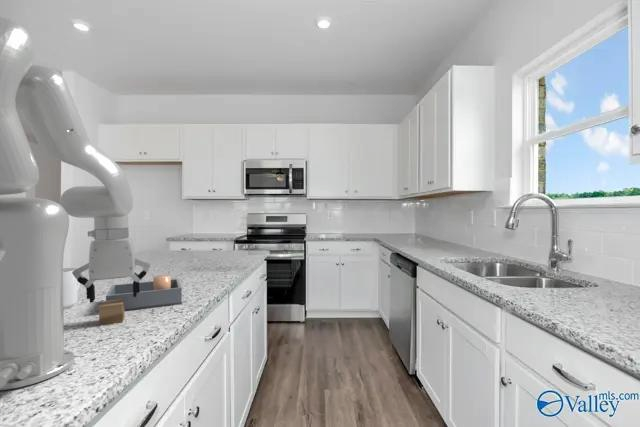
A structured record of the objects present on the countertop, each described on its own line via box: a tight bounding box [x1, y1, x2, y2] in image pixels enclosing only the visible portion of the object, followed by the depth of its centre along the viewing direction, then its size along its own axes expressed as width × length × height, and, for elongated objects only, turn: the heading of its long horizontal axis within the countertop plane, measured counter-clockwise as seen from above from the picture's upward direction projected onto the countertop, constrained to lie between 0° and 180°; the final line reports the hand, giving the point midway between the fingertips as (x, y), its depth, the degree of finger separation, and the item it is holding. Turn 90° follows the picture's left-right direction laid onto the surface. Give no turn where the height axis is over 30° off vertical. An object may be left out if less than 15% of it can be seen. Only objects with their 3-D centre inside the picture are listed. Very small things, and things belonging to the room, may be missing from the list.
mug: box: [63, 267, 80, 310], centre depth 96 cm, size 12×9×11 cm
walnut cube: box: [98, 299, 125, 327], centre depth 83 cm, size 5×5×5 cm
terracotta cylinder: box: [152, 274, 172, 290], centre depth 102 cm, size 5×5×7 cm
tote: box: [105, 278, 183, 312], centre depth 100 cm, size 20×15×5 cm
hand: (114, 298), depth 84 cm, fingers open, 9 cm apart
